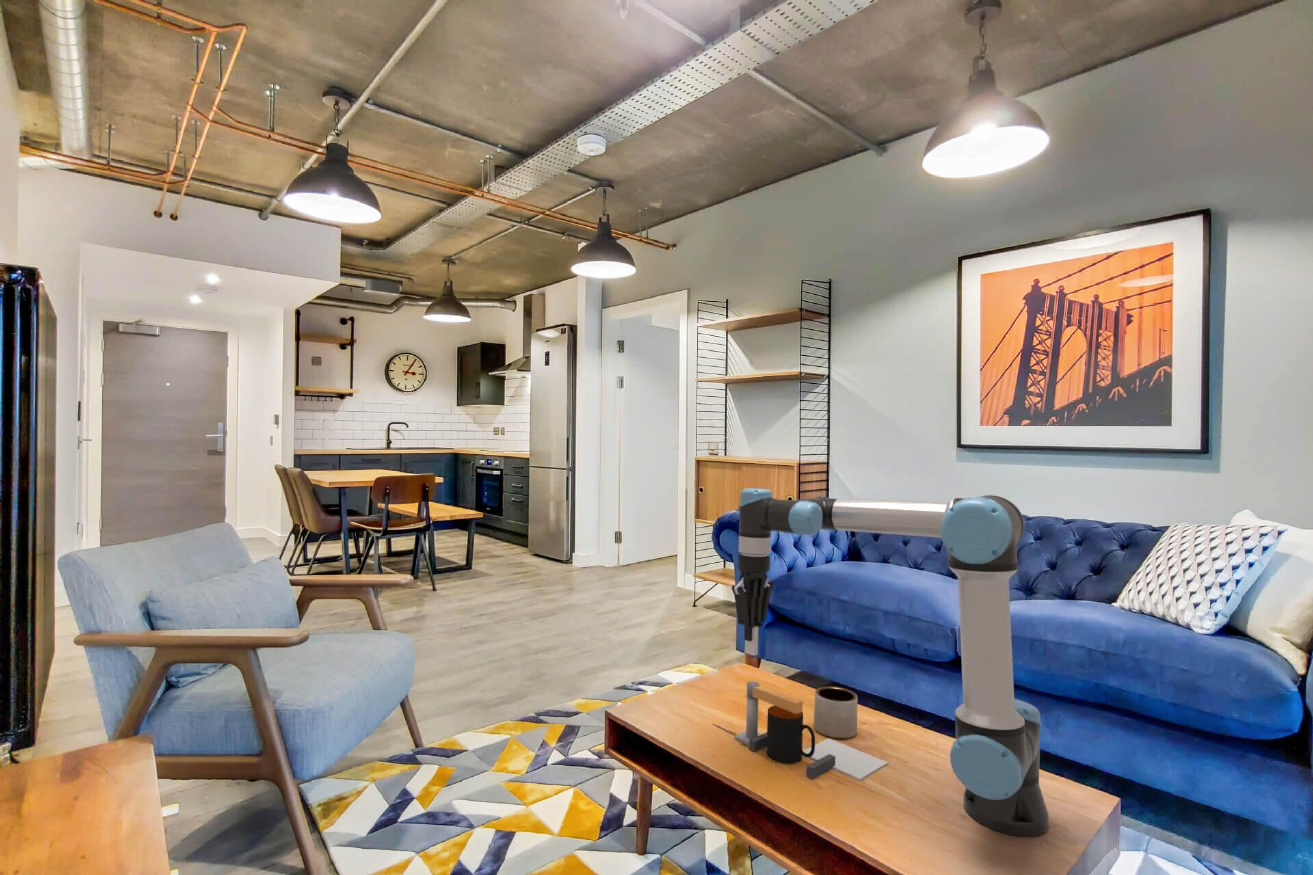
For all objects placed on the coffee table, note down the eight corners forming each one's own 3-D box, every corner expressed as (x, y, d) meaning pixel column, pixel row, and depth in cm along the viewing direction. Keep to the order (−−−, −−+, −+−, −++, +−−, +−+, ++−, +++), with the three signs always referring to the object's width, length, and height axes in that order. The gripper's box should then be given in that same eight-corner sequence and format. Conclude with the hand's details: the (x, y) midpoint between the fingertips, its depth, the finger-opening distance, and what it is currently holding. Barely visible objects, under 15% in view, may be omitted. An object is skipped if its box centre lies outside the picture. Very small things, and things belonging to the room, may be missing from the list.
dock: (835, 766, 150) (836, 720, 150) (812, 779, 144) (813, 731, 144) (754, 730, 168) (755, 689, 168) (730, 740, 162) (731, 697, 162)
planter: (866, 736, 167) (867, 698, 167) (830, 742, 163) (831, 704, 163) (839, 719, 177) (840, 684, 177) (805, 724, 173) (806, 688, 173)
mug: (805, 773, 147) (806, 727, 147) (759, 755, 155) (760, 711, 155) (822, 760, 153) (823, 716, 153) (778, 744, 161) (779, 701, 161)
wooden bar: (803, 712, 153) (803, 699, 153) (795, 715, 151) (795, 702, 151) (752, 692, 165) (752, 680, 165) (744, 695, 163) (744, 683, 163)
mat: (887, 764, 152) (887, 762, 152) (860, 780, 144) (860, 778, 144) (828, 739, 164) (828, 738, 164) (800, 753, 156) (800, 751, 156)
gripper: (759, 549, 162) (756, 644, 162) (723, 553, 153) (720, 654, 153) (783, 553, 156) (781, 652, 156) (748, 558, 148) (745, 663, 148)
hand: (751, 653), depth 155 cm, fingers closed
